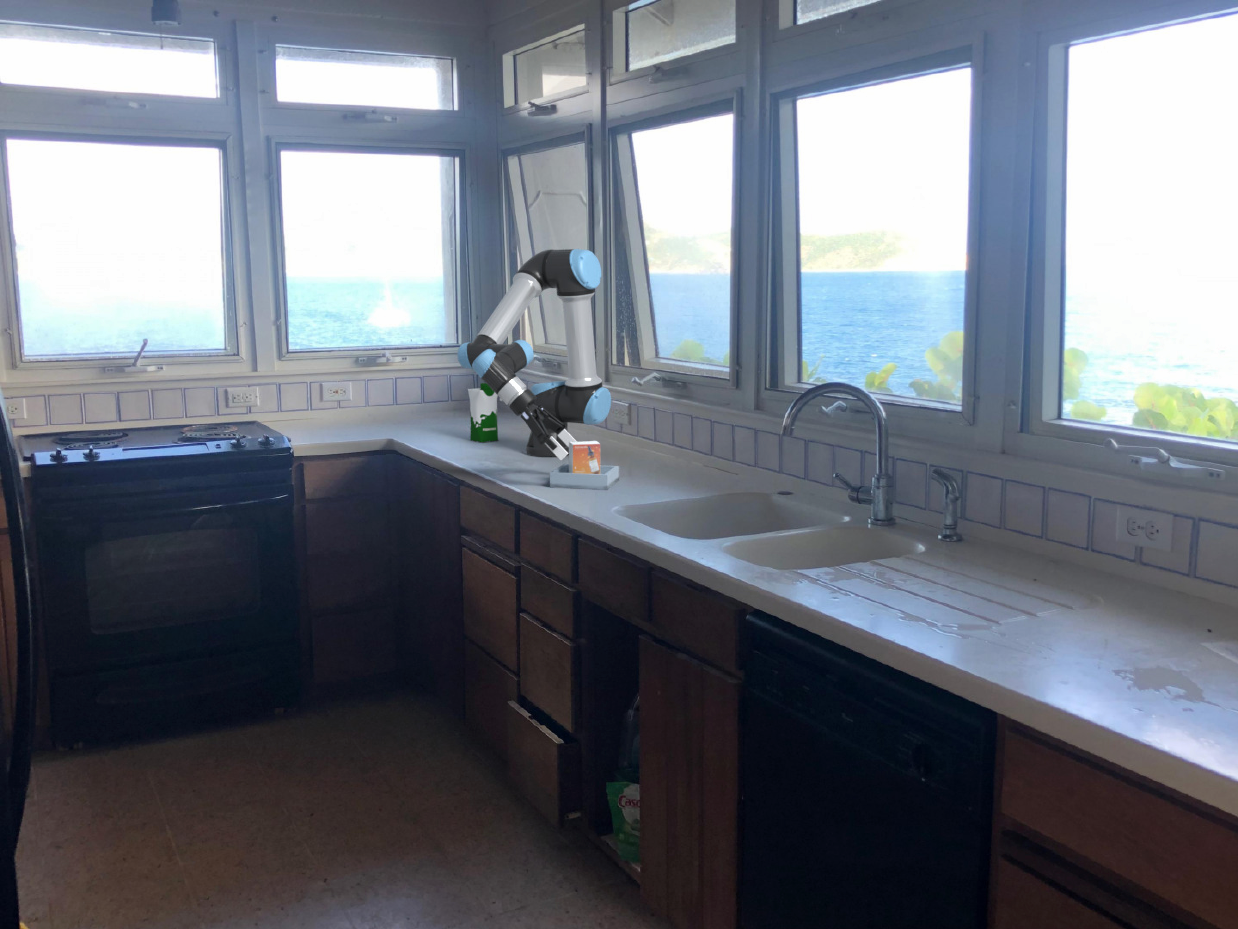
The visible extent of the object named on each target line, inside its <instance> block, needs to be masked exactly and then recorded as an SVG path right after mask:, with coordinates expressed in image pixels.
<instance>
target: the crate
mask: <svg viewBox="0 0 1238 929" xmlns="http://www.w3.org/2000/svg"><path fill="white" fill-rule="evenodd" d="M619 481H620V466H619V465H601V464H600V474H583V473H569V463H564V464H562V465H560V466H558V467H557V468H555V469H553V470H552V471H551V472H549V488H554V487H563V488H562V489H577V488H580V489H581V490H598V491H599V490H601V491H602V490H603V491H606V490H607V491H608V490H610V488H611V487H613V486H614V485H615V484H616V483H617V482H619ZM612 485H613V486H612Z"/></svg>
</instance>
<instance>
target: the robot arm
mask: <svg viewBox="0 0 1238 929" xmlns="http://www.w3.org/2000/svg"><path fill="white" fill-rule="evenodd" d="M601 279H602V267H601V264H600V260H599V259H598V257H597V256H596V255H595V254H594V252H593V251H591V250H588V249H580V248H569V249H567V248H566V249H564V248H563V249H545V250H542V251H539V252H538V253H535V254H534V255H533V256H532V257H530V258H529V259H527V261H525V262H524V263H523V264H522V265H521V267H519V269H518V270H517V271H516V273H515V274H514V275H513V277H512V284H511V286H510V288H509V289H508V290H507V292H506V293H505V294H504V296H503V297H502V298H501V300H500V302H498V305H497V306H496V307H495V309H494V310H493V312H492V313H491V315H490V316H489V318H488V319H487V320H486V322H485V323H484V325H483V326H482V328H481V329H480V330H479V332H478V333H477V335H476V337H475V338H474V339H473V341H471V342H470V341H468V342H464V343H462V344H460V345H459V348H458V350H457V360H458V361H457V362H459V365H460V366H461V367H463V368H464V369H469V370H473V371H474V372H475V373H476V374H477V375H478V376H479V378H480V379H481V380H482V381H483V383H486V384H487V385H488V386H489V387H490V388H491V389H492V390H493V391H494V392H495V393H496V394H497V395H498V396H497V397H499V401H500V402H503V403H505V405H506V406H507V405H508V406H509V409H510V410H511V411H512V412H513V413H514V414H515V416H516V417H519V416H520V418H521V419H522V420H523V422H525V423H526V425H527V427H528V428H529V429H530V432H529V433H530V434H529V437H528V440H527V444H526V447H525V451H526V452H525V453H526V454H527V455H528V454H530V456H533V455H534V456H535V457H545V456H552V457H556V458H558V460H560V461H563V459H565V458H566V457H567V456H569V455H568V454H569V442H578V441H577V440H576V439H575V438H574V437H573V436H572V434H570V432H569V428H568V424H569V423H570V424H580V425H581V424H583V425H589V426H590V425H599V424H601V423H603V422H604V421H605V420H606V418H607V417H608V415H609V413H610V409H611V407H612V396H611V395H612V394H611V392H610V390H609V389H608V388H606V387H603V380H602V378H600V377H599V376H598V375H597V373H598V372H597V362H596V352H595V350H596V349H595V337H594V326H593V325H594V324H593V314H592V313H593V312H592V302H591V301H592V299H591V298H592V297H593V296H594V295H595V294H596V291H595V290H596V288H598V287H599V285H600V284H601ZM548 289H556V296H557V298H559V299H560V300H561V301H562V308H563V312H562V313H563V320H564V331H565V344H566V355H567V367H568V378H567V380H557V381H556V380H555V381H547V382H540V383H535V384H533V385H532V386H531V388H530V389H529V388H527V385H526V384H525V383H524V382H523V381H522V380H521V379H520V378H519V376H517V375H516V373H518V372H520V371H522V370H523V369H524V368H526V367H527V366H528V365H529V364H530V363H532V361H533V359H534V356H535V355H534V349H533V347H532V346H531V344H530V343H529V342H528V341H526V340H524V339H517V340H515V341H512V342H511V343H509V344H506V343H504V342H505V341H506V339H507V338H508V337H509V335H510V334H511V332H512V331H513V329H514V328H515V327H516V325H517V324H518V322H519V321H520V319H521V318H522V316H523V315H524V313H525V311H526V310H527V309H528V307H529V306H530V304H531V302H533V300H534V299H535V298H537V297H539V296H540V295H541V294H542V293H543V291H545V290H548Z"/></svg>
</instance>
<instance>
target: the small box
mask: <svg viewBox="0 0 1238 929" xmlns="http://www.w3.org/2000/svg"><path fill="white" fill-rule="evenodd" d="M568 464H569V473H583V474H600V465H601V443H600V442H599V441H597V440H589V441H587V440H586V441H577V442H569V455H568Z"/></svg>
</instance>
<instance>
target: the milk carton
mask: <svg viewBox="0 0 1238 929" xmlns="http://www.w3.org/2000/svg"><path fill="white" fill-rule="evenodd" d="M479 387H480V388H479ZM479 387H477V388H467V391H468V392H467V393H468V398H469V409H470V410H469V411H470V416H469V417H470V434H469V437H470V438H469V440H470V441H472V440H473V441H472V442H476V441H478V442H477V443H481V442H482V443H488V442H487V441H490V442H497V441H496V440H498V441H499V434H498V432H499V431H498V430H499V429H498V402H497V401H498V397H499V396H498V395H497V394H496V393H495V392H494V391H493V390H492V389H491V388H490V387H489V386H488V385H487V384H486V383H485V382H481V383H480V386H479Z"/></svg>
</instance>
